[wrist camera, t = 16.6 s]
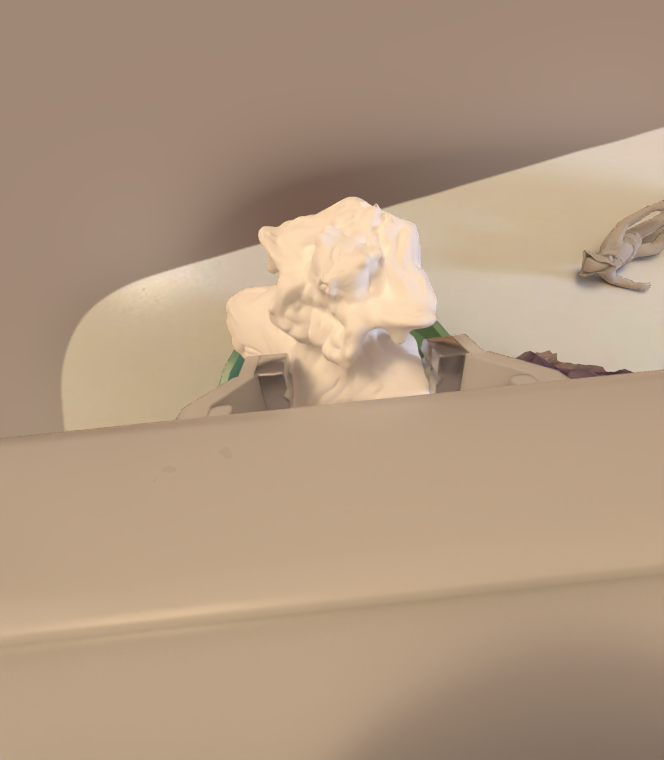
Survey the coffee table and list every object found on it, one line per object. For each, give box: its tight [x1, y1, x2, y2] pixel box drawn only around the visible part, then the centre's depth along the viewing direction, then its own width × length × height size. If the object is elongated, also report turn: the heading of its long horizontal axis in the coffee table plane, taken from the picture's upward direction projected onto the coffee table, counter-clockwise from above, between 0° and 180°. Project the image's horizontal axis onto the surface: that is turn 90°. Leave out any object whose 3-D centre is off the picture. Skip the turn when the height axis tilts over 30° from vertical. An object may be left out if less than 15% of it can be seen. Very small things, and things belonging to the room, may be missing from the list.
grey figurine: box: [579, 200, 664, 290], centre depth 29 cm, size 8×5×12 cm
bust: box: [226, 197, 437, 408], centre depth 13 cm, size 12×8×11 cm
